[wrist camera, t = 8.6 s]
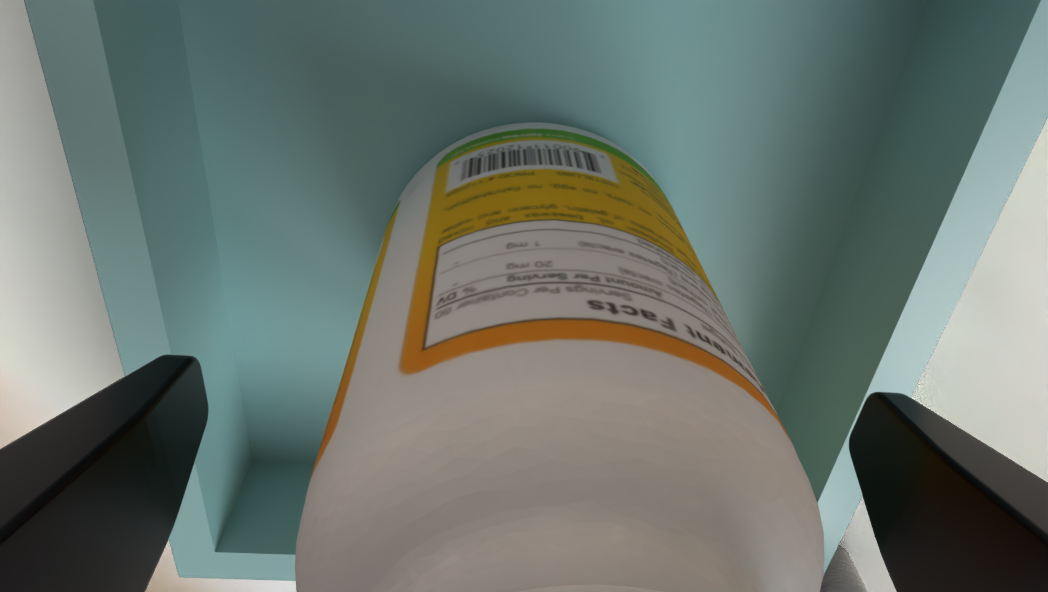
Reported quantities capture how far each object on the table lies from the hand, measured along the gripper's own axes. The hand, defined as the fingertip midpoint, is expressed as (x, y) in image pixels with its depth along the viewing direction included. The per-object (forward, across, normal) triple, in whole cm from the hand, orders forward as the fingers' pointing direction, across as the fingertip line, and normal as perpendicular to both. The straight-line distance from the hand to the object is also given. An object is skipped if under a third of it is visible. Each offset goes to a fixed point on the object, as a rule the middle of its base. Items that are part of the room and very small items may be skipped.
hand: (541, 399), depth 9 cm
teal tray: (+5, 0, 0) cm, 5 cm away
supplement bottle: (+4, 0, 0) cm, 4 cm away
